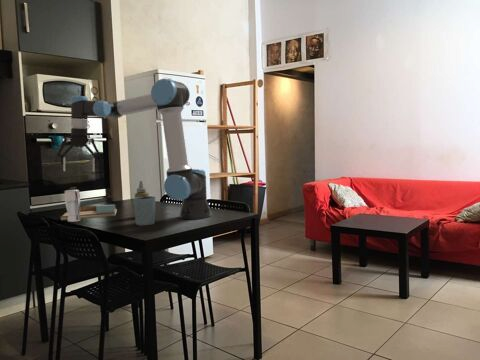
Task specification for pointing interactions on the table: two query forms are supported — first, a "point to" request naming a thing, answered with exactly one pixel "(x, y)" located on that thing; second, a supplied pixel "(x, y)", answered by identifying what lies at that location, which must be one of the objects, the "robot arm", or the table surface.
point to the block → (105, 209)
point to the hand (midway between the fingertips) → (79, 171)
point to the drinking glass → (144, 210)
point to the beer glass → (72, 205)
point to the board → (89, 213)
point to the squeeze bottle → (141, 191)
